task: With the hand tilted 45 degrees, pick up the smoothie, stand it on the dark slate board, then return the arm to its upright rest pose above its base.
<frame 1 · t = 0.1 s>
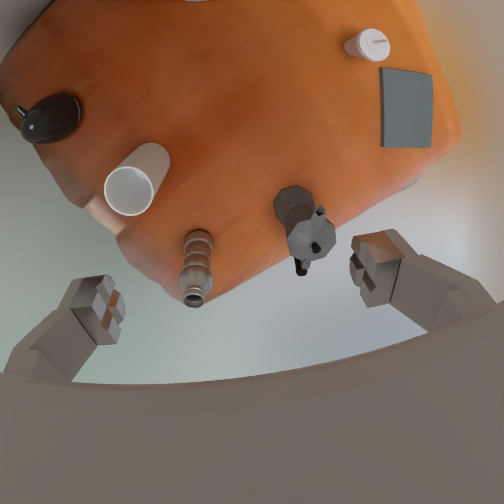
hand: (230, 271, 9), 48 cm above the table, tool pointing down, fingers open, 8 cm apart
cup: (150, 161, 52), on the table
slate board: (406, 108, 49), on the table
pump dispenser: (66, 113, 43), on the table
smoothie: (351, 47, 42), on the table
plastic bottle: (199, 238, 64), on the table
coffeepot: (292, 208, 62), on the table
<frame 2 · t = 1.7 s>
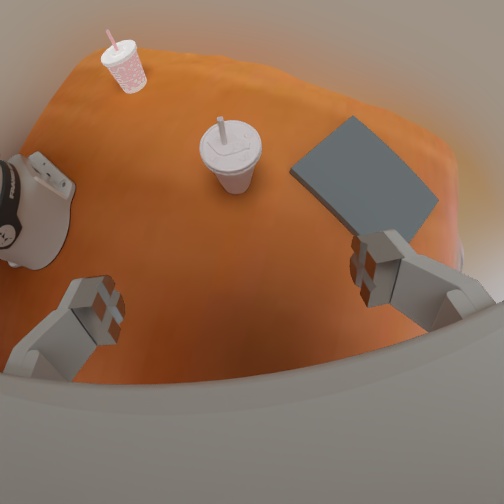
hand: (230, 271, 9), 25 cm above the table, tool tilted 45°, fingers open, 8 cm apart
beverage cup: (135, 85, 40), on the table
slate board: (369, 187, 36), on the table
smoothie: (236, 182, 37), on the table
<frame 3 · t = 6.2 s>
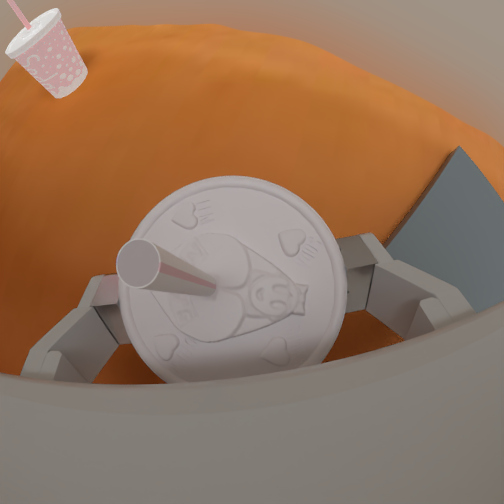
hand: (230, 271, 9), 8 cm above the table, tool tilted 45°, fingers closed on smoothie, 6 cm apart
beverage cup: (70, 82, 21), on the table
slate board: (481, 288, 16), on the table
smoothie: (244, 295, 17), on the table, touching gripper
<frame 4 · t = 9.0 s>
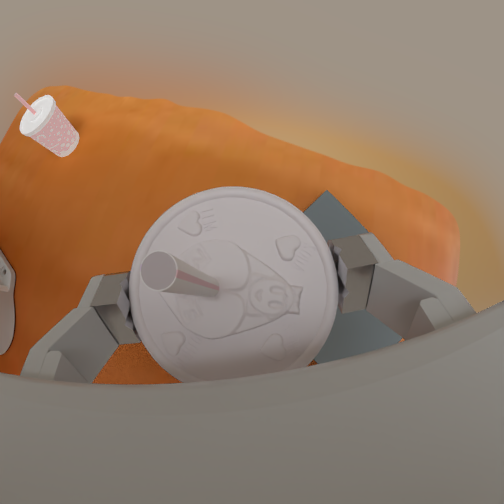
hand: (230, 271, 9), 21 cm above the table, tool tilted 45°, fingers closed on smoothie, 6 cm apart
beverage cup: (68, 144, 33), on the table
slate board: (338, 293, 30), on the table
smoothie: (244, 296, 18), point 12 cm above the table, touching gripper
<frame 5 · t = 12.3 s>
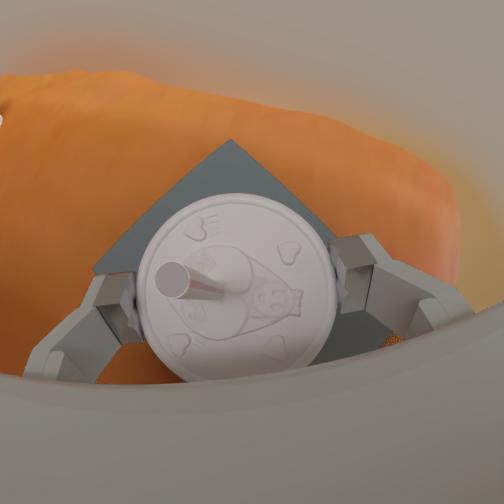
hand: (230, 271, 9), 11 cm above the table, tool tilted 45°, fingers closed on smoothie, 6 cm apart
slate board: (246, 296, 19), on the table
smoothie: (246, 297, 18), point 1 cm above the table, touching gripper, slate board
when the fingers open (10 cm above the table, at t = 12.8 s): smoothie stays where it is, resting on slate board.
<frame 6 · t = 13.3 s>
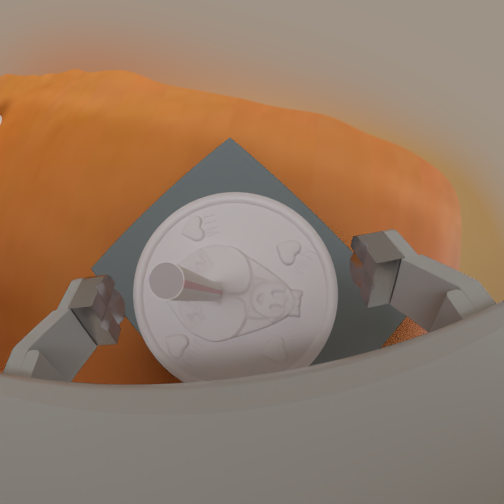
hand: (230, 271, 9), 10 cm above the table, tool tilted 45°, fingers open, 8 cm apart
slate board: (246, 296, 19), on the table
smoothie: (245, 297, 18), point 1 cm above the table, touching slate board
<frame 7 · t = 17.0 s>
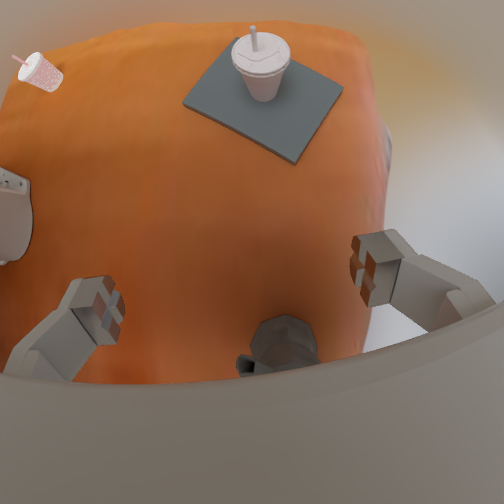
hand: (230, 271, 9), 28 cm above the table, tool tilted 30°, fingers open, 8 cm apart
beverage cup: (55, 82, 37), on the table
slate board: (263, 95, 35), on the table
smoothie: (263, 91, 34), point 1 cm above the table, touching slate board
coffeepot: (288, 349, 38), on the table
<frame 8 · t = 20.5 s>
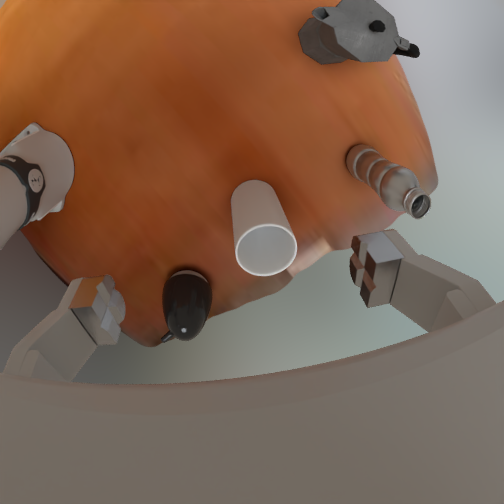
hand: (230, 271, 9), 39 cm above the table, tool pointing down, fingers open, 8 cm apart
cup: (253, 200, 50), on the table
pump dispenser: (188, 281, 59), on the table
plastic bottle: (357, 158, 47), on the table
coffeepot: (330, 42, 35), on the table
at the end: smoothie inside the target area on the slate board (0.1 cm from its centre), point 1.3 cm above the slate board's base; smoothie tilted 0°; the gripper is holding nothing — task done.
